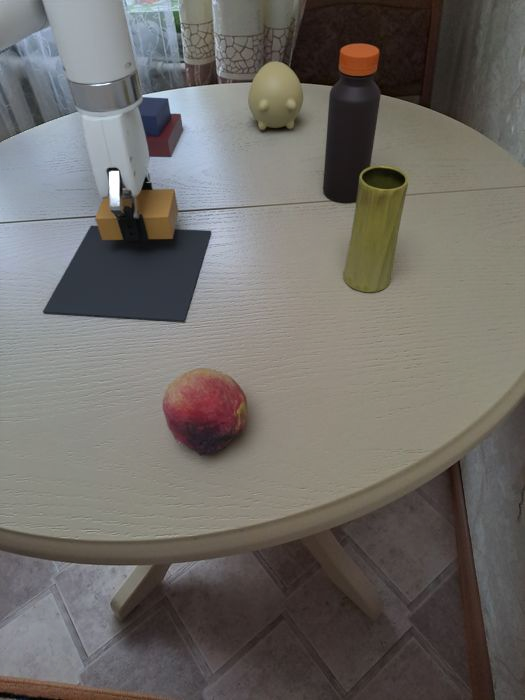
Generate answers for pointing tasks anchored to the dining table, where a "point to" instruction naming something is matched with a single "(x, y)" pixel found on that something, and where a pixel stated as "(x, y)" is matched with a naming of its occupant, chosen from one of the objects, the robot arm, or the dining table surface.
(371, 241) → the vase
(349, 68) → the bottle
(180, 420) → the fruit
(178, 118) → the bottom book
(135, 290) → the desk mat
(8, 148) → the dining table surface
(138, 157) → the robot arm
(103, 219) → the top book
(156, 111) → the middle book
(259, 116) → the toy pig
